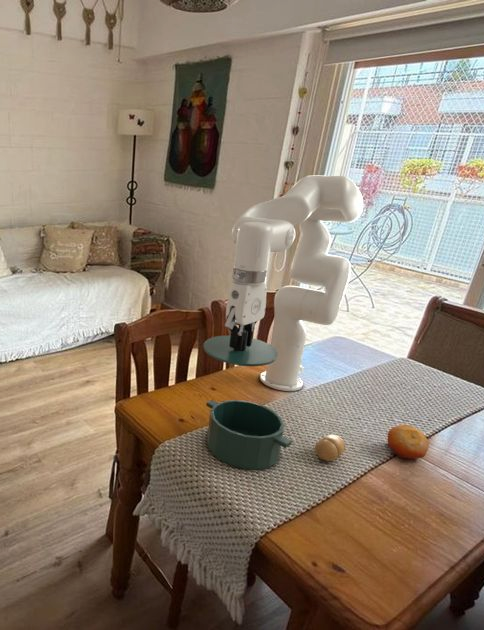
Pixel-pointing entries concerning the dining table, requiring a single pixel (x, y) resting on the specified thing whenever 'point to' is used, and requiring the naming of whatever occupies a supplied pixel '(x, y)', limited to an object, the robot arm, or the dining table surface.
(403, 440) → the fruit
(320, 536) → the dining table surface
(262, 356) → the lid
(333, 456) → the tan rounded piece
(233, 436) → the pot
